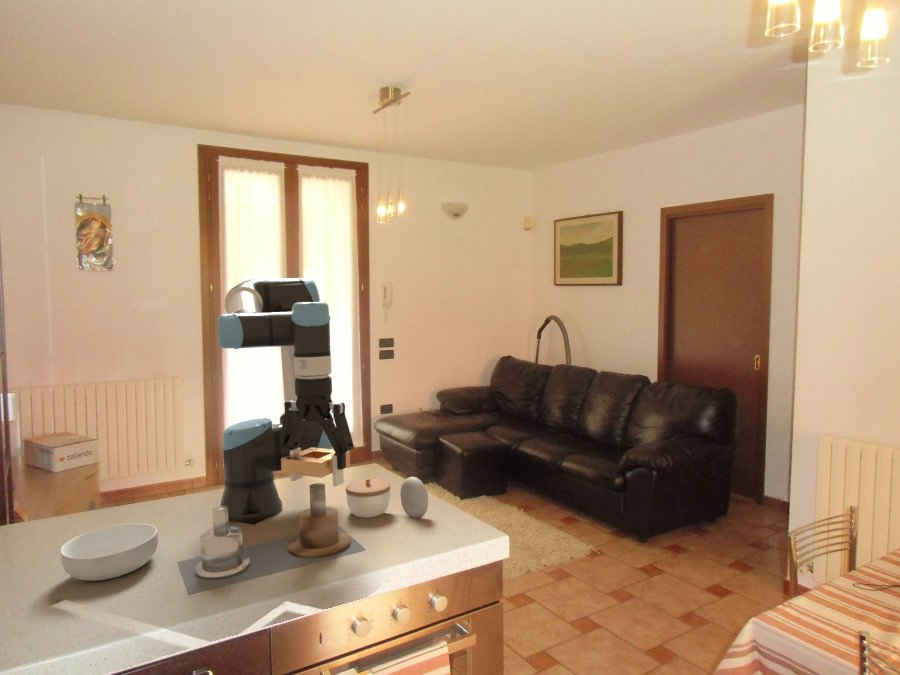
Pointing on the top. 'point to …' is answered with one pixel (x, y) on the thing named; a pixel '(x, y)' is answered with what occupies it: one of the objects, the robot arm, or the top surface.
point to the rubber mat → (258, 563)
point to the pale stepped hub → (221, 549)
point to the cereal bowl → (109, 551)
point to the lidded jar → (368, 497)
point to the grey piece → (414, 497)
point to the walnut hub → (318, 529)
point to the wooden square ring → (311, 462)
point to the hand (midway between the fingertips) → (317, 481)
